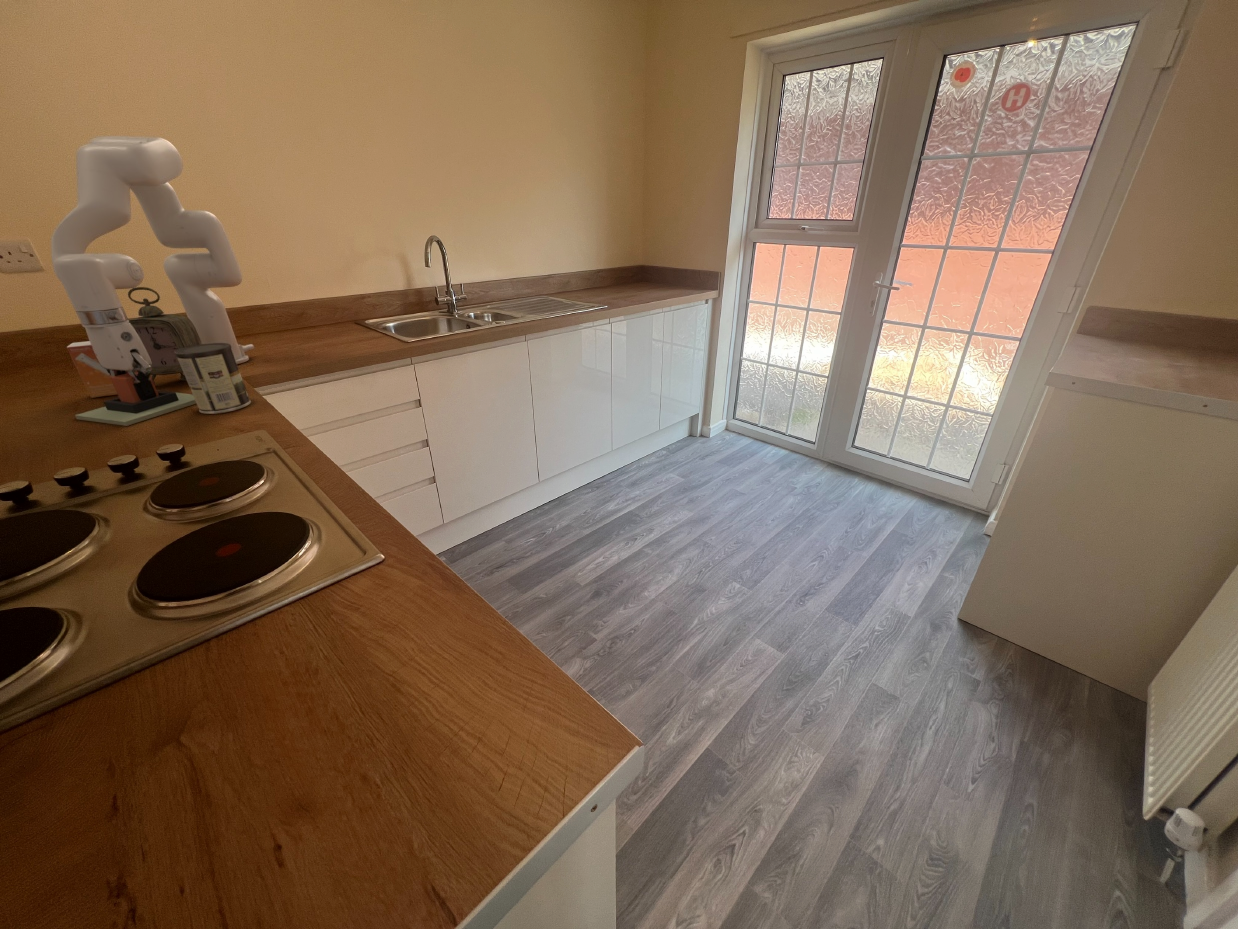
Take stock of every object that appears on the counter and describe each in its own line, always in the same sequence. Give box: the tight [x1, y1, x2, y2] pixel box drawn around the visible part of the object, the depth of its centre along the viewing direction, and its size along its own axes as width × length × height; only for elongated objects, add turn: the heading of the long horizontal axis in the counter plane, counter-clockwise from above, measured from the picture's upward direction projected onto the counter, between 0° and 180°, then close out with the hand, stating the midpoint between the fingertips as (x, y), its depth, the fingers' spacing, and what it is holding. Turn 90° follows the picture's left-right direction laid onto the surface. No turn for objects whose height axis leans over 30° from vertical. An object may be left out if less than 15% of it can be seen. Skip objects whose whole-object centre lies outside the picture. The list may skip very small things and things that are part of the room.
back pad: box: [74, 390, 197, 427], centre depth 118 cm, size 18×16×3 cm
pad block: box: [110, 371, 159, 403], centre depth 116 cm, size 5×5×6 cm
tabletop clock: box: [127, 286, 202, 386], centre depth 132 cm, size 14×9×25 cm, turn 99°
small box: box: [66, 340, 122, 399], centre depth 127 cm, size 8×6×13 cm
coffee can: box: [174, 343, 252, 415], centre depth 116 cm, size 10×10×14 cm
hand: (139, 396), depth 117 cm, fingers closed on pad block, 5 cm apart
